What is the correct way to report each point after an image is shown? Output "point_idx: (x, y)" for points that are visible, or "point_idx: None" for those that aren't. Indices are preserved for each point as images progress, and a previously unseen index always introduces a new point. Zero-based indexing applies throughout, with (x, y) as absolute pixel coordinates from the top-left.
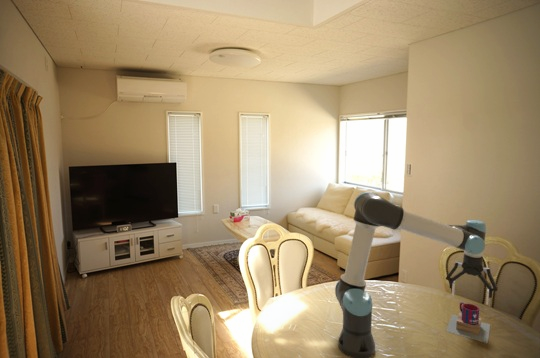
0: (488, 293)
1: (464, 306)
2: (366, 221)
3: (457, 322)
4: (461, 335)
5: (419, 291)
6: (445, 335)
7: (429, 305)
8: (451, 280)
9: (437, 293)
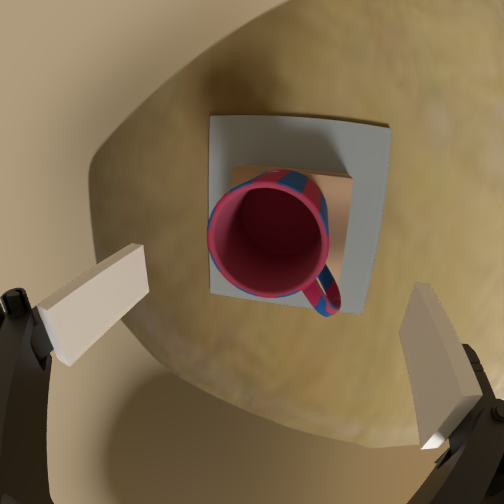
0: (57, 292)
1: (312, 264)
2: None
3: (347, 177)
4: (320, 120)
5: None
6: (388, 95)
7: None
8: (502, 421)
9: (386, 431)
